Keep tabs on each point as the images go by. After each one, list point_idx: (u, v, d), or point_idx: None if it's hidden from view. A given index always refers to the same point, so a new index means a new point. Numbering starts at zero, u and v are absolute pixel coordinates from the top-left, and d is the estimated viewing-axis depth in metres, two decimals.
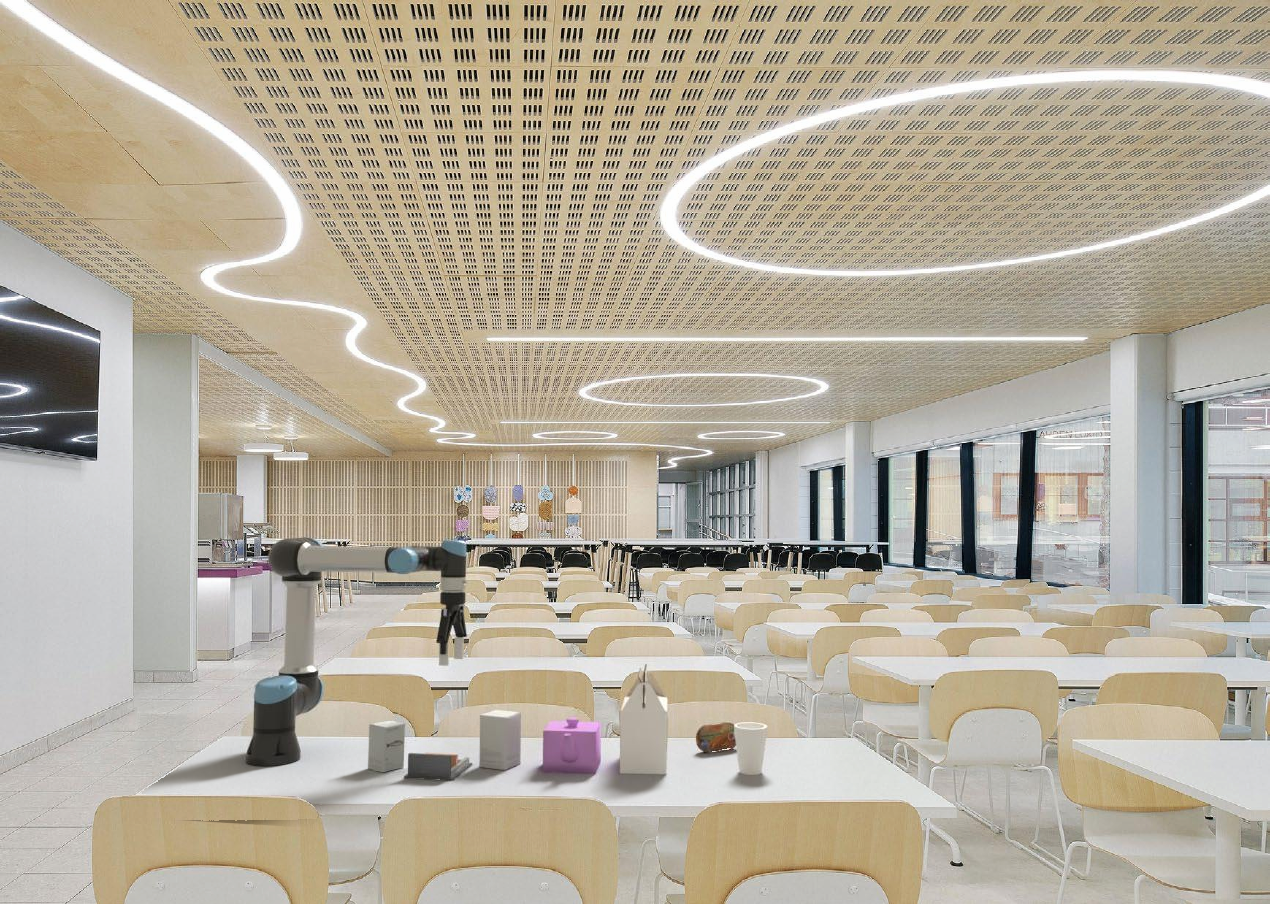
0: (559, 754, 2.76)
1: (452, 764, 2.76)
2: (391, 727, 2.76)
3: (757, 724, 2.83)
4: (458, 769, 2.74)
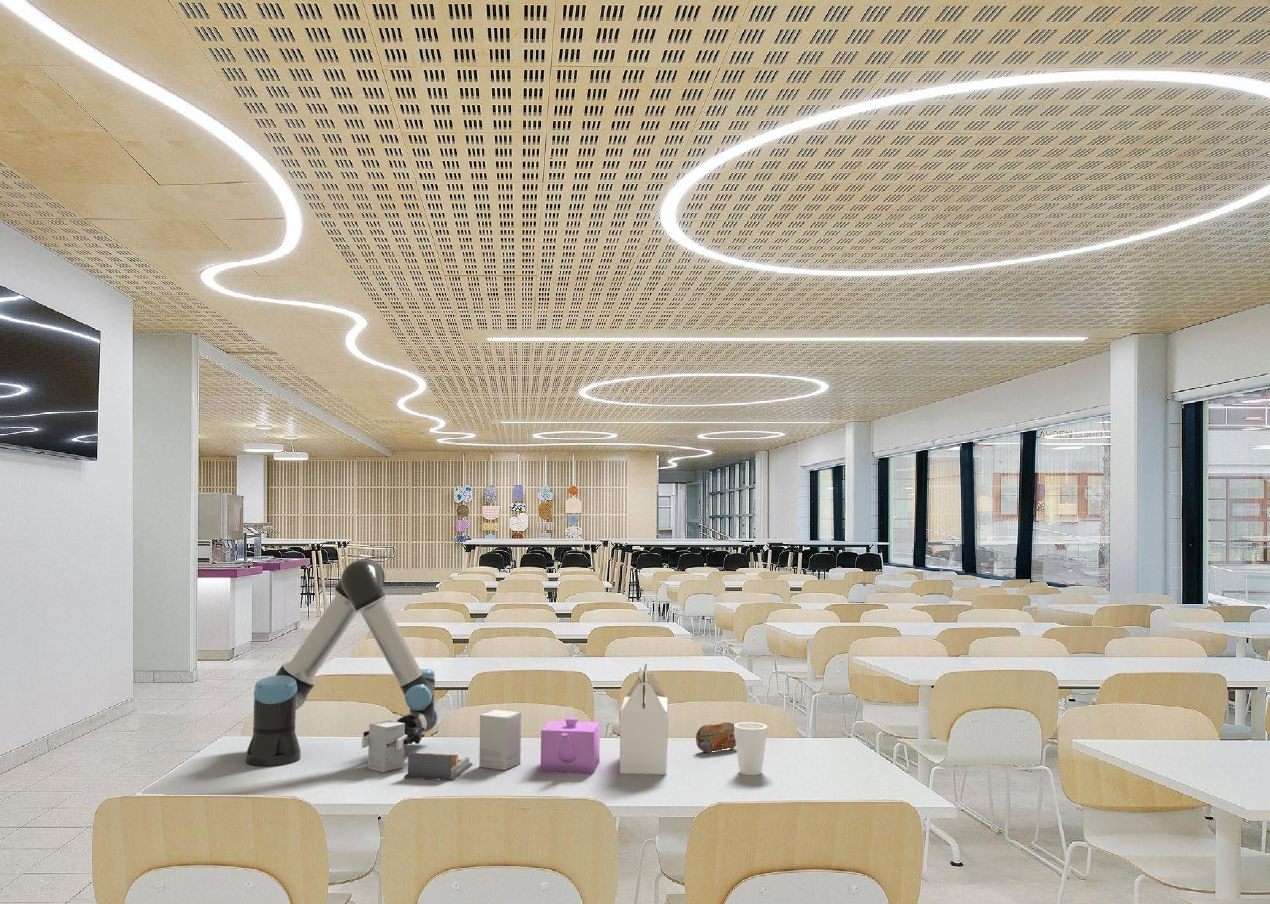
0: (557, 754, 2.76)
1: (452, 764, 2.76)
2: (391, 727, 2.76)
3: (757, 724, 2.83)
4: (458, 769, 2.74)
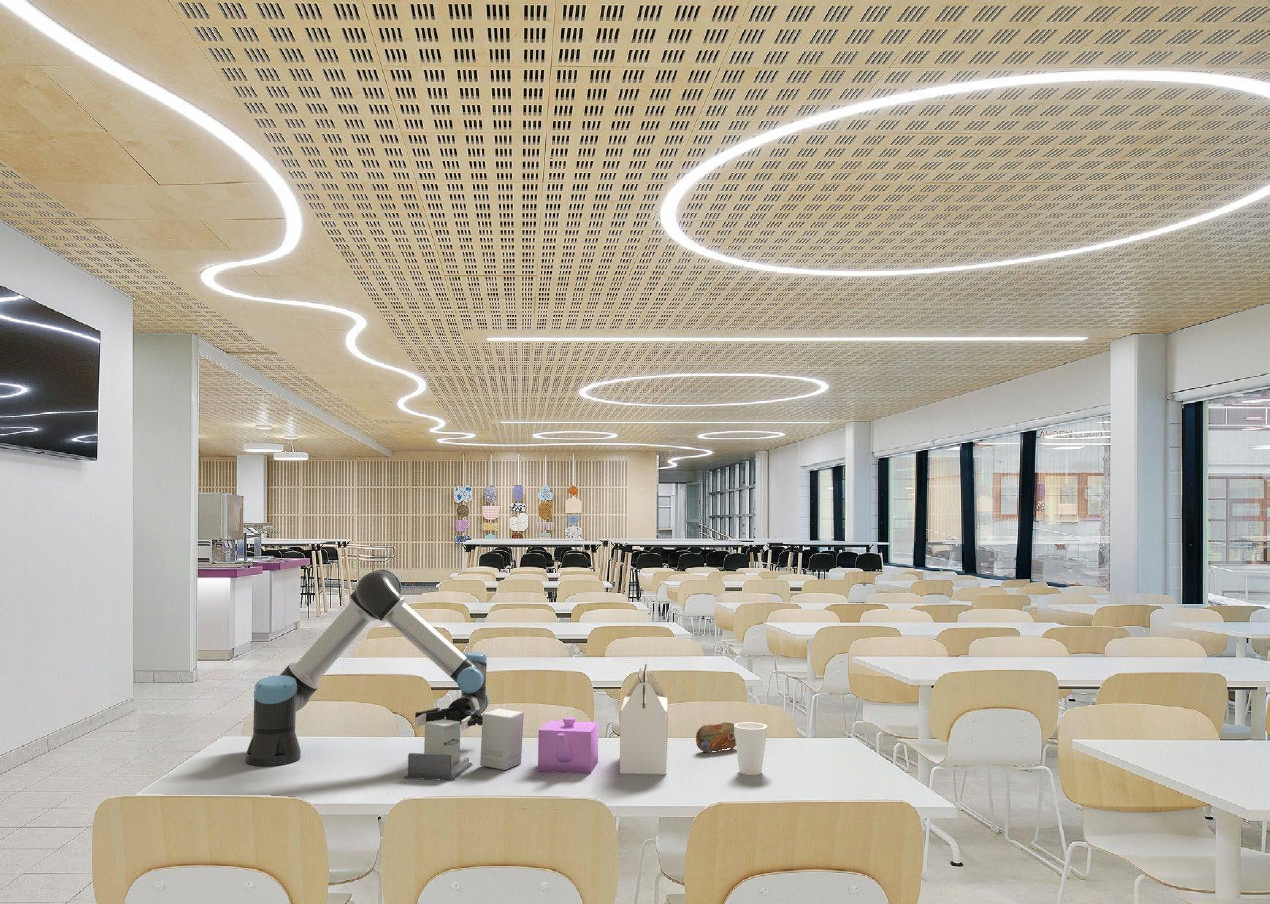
0: (554, 754, 2.76)
1: None
2: (448, 725, 2.76)
3: (757, 724, 2.83)
4: (458, 769, 2.74)
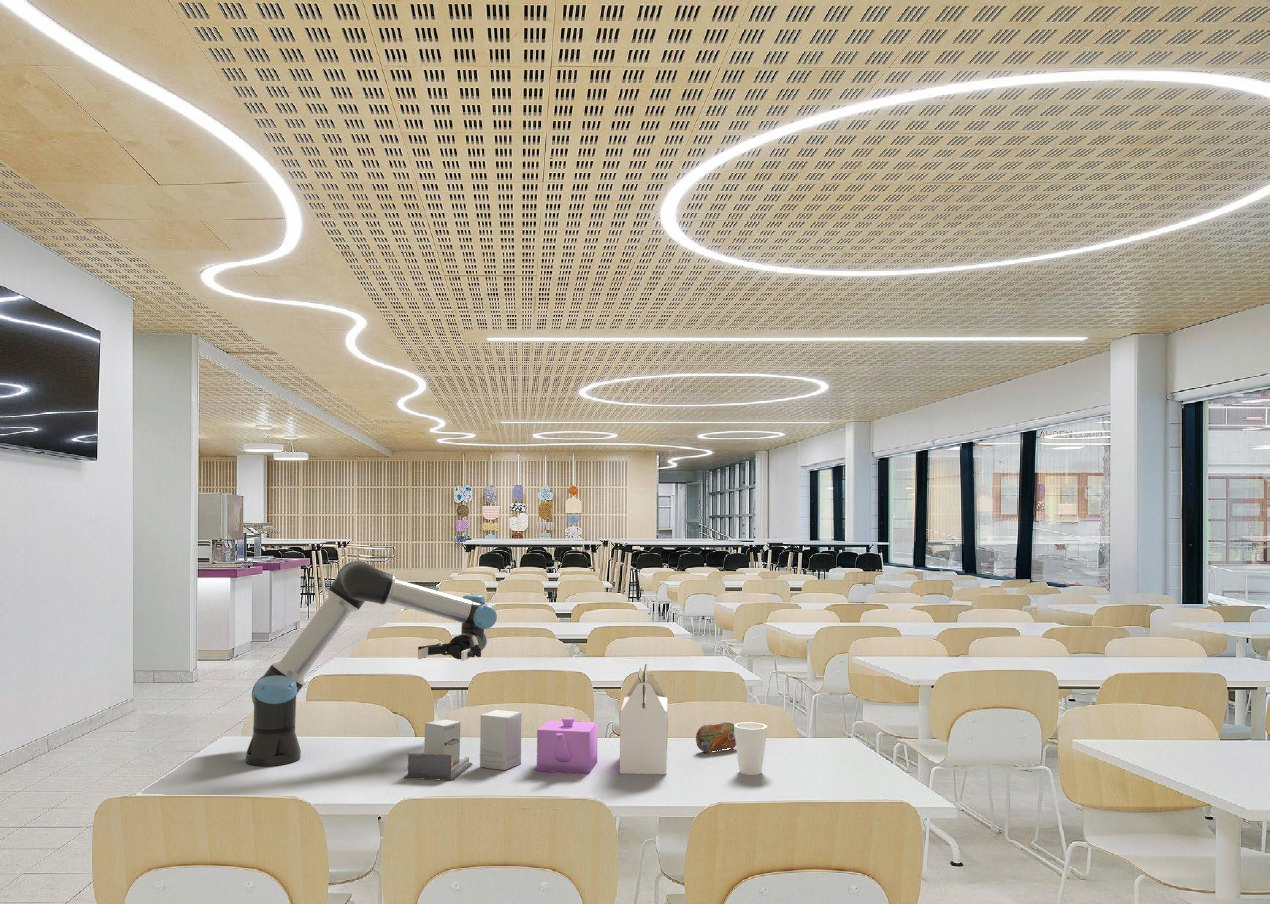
0: (553, 754, 2.77)
1: None
2: (448, 725, 2.76)
3: (757, 724, 2.83)
4: (458, 769, 2.74)
